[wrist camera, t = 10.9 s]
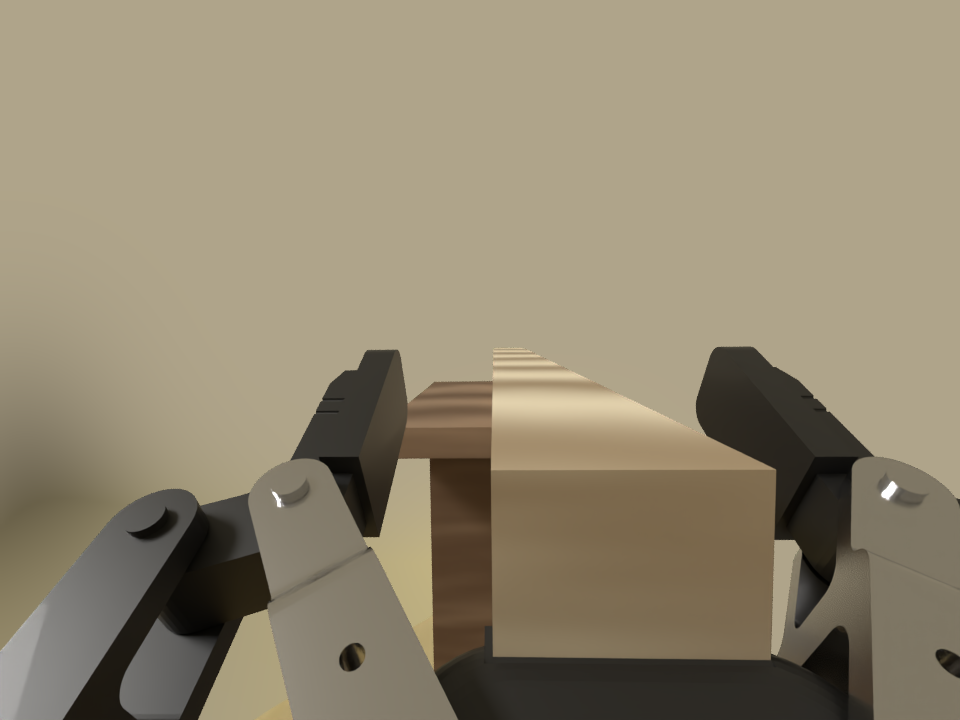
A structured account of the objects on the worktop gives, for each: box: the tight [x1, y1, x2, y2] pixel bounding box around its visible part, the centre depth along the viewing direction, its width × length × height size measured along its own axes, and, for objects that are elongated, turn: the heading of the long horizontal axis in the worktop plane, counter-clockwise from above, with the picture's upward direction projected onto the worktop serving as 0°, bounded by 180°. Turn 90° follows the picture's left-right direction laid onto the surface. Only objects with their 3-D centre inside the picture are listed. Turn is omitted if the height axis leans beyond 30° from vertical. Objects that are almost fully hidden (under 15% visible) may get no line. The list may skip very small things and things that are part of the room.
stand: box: [398, 381, 493, 672], centre depth 32 cm, size 20×14×32 cm
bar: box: [491, 348, 776, 660], centre depth 25 cm, size 40×3×3 cm, turn 178°
